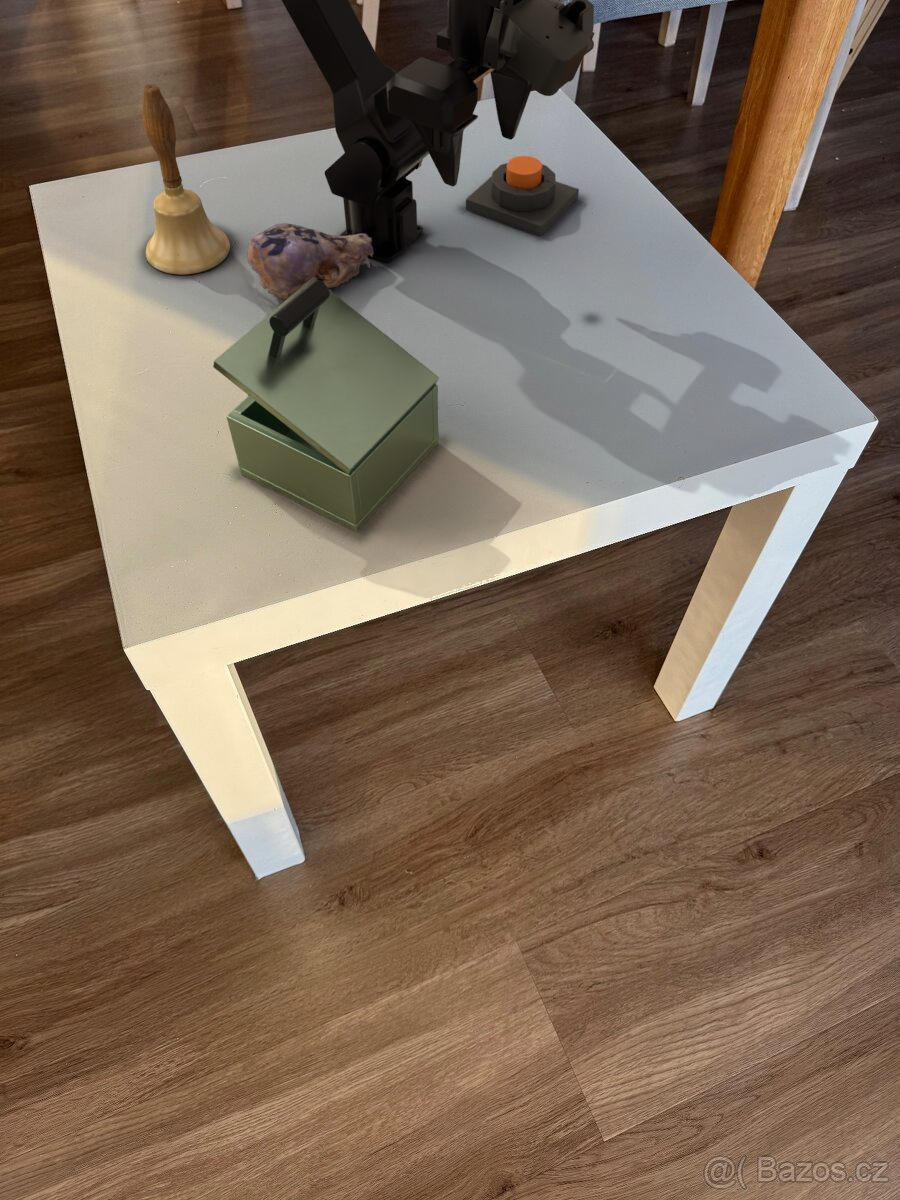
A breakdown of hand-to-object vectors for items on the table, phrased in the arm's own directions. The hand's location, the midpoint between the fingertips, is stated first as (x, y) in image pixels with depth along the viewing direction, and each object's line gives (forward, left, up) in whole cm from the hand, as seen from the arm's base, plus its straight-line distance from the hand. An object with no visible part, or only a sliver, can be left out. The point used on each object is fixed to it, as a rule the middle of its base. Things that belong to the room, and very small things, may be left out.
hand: (479, 160), depth 83 cm
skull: (-13, -9, -12) cm, 20 cm away
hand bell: (-26, -12, -12) cm, 31 cm away
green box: (+4, -27, -12) cm, 30 cm away
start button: (-2, +13, -9) cm, 16 cm away
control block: (-2, +13, -12) cm, 18 cm away
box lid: (+3, -27, -3) cm, 27 cm away
